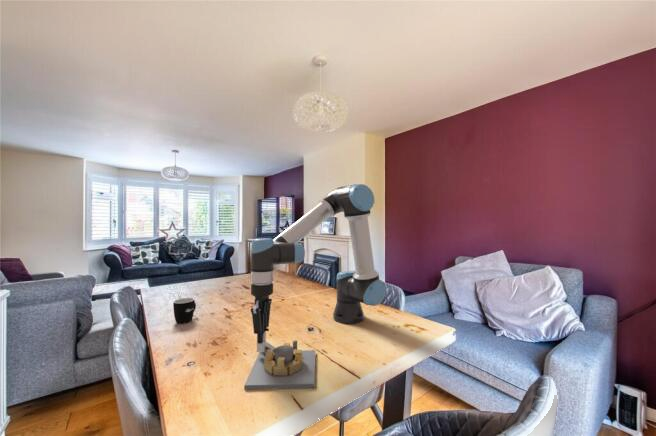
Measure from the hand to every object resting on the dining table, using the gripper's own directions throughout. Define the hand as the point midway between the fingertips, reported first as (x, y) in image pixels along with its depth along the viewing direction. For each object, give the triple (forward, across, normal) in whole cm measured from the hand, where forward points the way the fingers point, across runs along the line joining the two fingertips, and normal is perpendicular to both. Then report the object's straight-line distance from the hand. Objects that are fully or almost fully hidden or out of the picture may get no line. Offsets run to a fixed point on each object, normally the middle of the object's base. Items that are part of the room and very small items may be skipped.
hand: (261, 351), depth 93 cm
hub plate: (+3, +4, +10) cm, 11 cm away
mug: (+3, -30, -51) cm, 59 cm away
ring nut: (+2, +2, +7) cm, 7 cm away
